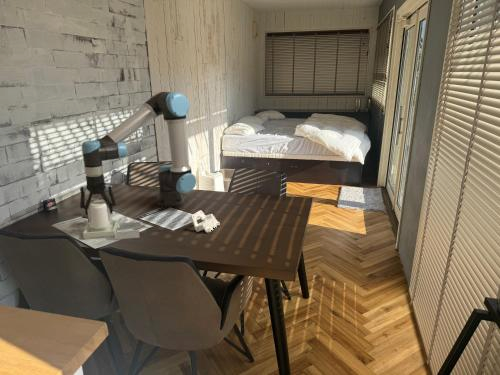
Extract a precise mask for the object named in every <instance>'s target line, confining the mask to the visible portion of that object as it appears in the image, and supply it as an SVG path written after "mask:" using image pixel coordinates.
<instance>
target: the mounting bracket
mask: <svg viewBox="0 0 500 375" xmlns="http://www.w3.org/2000/svg"><path fill="white" fill-rule="evenodd" d="M198 217H199V218H200V220H201V222H198V221H197V219H198ZM190 219H191V221H192V224H193V227H194V230H195V231H196V232H197V233H198V232H200V231H203V230H204V231H205V233H207V234H208V233H210V232H212V231H213V230H214V229H213V228H215V227H216V228H217V226H218V225H219V226H220V225H221V223H220V221H218V220H217V219H216V217H215V215H214V214H213V213H209V214H207V215H205V213H204V212H203V211H202V210H200V209H199V210H198V211H197V212H195V213H193V214H191V215H190ZM219 226H218V227H219ZM216 228H215V229H216ZM211 230H212V231H211Z"/></svg>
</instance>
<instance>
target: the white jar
mask: <svg viewBox="0 0 500 375" xmlns="http://www.w3.org/2000/svg"><path fill="white" fill-rule="evenodd" d="M88 207H89V210H90V217H91V223H92V227H93V228H96V229H101V228H105V227H107V226H109V225H110V221H109V218H108V209H107V208H108V205H107V203H106V202H105V200H104V199H103V200H101V199H98V200H97V201H93V202H91V203H90V205H89V206H88Z"/></svg>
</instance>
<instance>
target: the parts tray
mask: <svg viewBox="0 0 500 375" xmlns="http://www.w3.org/2000/svg"><path fill="white" fill-rule="evenodd" d="M118 228H119V220H118V219H113V220H112V219H111V221H110V225H109V226H107V227H105V228H101V229H96V228H93V227H92V223H91V222H89V223H88V222H87V226H86V227H85V229H84V231H83V233H82V237H83V240H93V239H94V240H95V239H104V238H105V239H107V238H115V237H116V233H118Z"/></svg>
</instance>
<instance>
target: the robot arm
mask: <svg viewBox="0 0 500 375" xmlns="http://www.w3.org/2000/svg"><path fill="white" fill-rule="evenodd" d="M189 109H190V101H189V100H188V98H187V97H186V96H185V95H184V94H182V93H180V92H176V91H174V92H173V91H159V92H158V93H156V94H154V95H153V96H151V97H150V98H149V99H147V100H146V101H145V102H144V103H142V107H140V108H139V109H137V111H135V112H134V113H133V114H131V115H130V116H129V117H127V118H126V119H125V120H124V121H122V122H121V123H119V124H118V125H116V127H115V128H113V129H112V130H110V131H109V132H108V133H106V135H104V136H103V137H100V138H96V139H94V140H93V139H92V140H84V141H83V142H82V143H81V153H82V158H83V164H84V167H83V168H84V173H85V179H86V180H85V182H86V185H85V186H80V188H79V191H80V206H79V208H80V209H84V211H85V213H86V215H88V218H89V222H91V217H90V210H89V203H90V201H91V198H93V196H94V195H95V196H96V195H100V196H101V197H102V199H103V200H104V201H105V202H106V203H107V205H108V208H107V209H108V218H109V221H111V220H112V215H111V214H113V212H114V210H113V207H116V204H117V202H116V199H115V195H114V192H113V185H111V184H109V185H108V184H106V183H105V177H104V169H103V161H110V160H117V159H118V160H120V159H123V158H126V157H127V156H128V147H127V145H126V143H125V142H124V141H125V140H126V139H128V138H129V137H130V136H132V135H133V134H134V133H136V132H137V131H138V130H140V129H141V128H142V127H143V126H145V125H146V124H147V123H148V122H150V121H151V120H152V119H157V118H158V117H160V116H162V115H163V121H165V123H166V124H167V132H168V140H169V150H170V159H171V164H166V165H164V164H163V165H161V166H159V167H158V170H157V176H158V184H159V185H158V186H159V193H158V197H157V200H156V201H157V205H158V206H159V207H163V208H174V207H177V206H178V207H179V206H181V205H183V204H184V198H183V195H182V194H188V193H190V192H192V191H193V190H194V189H195V187H196V185H197V178H196V176H195V175H194V174H193V173H192V167H191V166H190V165H189V162H188V161H189V160H188V153H187V150H188V149H187V142H186V131H185V121H186V119H187V115H188V113H189V111H190V110H189ZM105 190H107V191H108V194H109V197H108V195H107V194H106V192H105ZM86 191H88V192H89V194H88V197H87V198H88V200H87V202H86V198H85V197H86ZM85 202H86V203H85Z"/></svg>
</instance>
